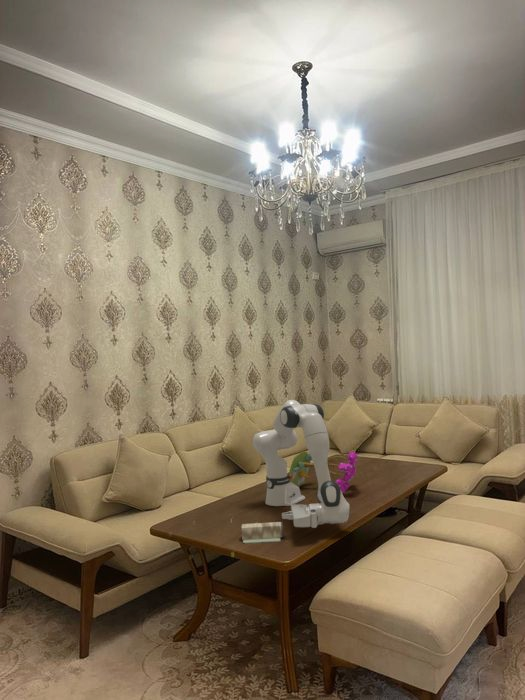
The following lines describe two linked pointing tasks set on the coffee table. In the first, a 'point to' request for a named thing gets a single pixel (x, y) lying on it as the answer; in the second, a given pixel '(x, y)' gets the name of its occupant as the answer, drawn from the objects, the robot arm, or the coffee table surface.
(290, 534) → the coffee table surface
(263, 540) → the sage mat
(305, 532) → the coffee table surface
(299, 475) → the chameleon on flowering branch
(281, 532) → the maple block
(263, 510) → the coffee table surface
